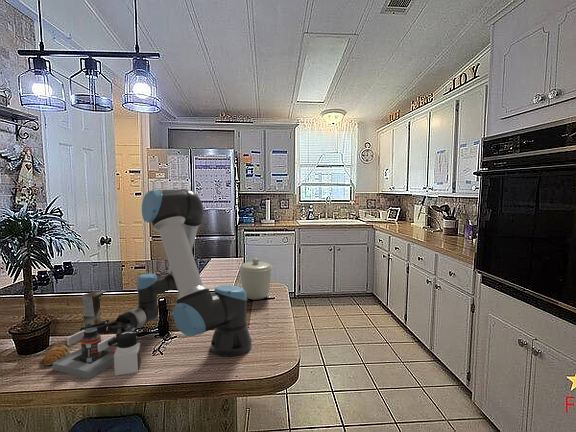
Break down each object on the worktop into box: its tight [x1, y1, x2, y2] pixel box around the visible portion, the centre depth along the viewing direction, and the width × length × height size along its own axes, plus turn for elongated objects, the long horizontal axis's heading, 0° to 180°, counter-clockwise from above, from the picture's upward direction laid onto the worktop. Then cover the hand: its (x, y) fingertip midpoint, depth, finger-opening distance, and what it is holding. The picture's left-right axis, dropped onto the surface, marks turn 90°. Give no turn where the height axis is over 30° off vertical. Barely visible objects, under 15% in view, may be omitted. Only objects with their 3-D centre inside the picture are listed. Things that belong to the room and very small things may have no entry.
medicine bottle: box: [113, 332, 142, 377], centre depth 116 cm, size 7×7×12 cm
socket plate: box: [52, 345, 117, 380], centre depth 120 cm, size 16×16×3 cm
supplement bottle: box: [80, 328, 102, 364], centre depth 120 cm, size 6×6×11 cm
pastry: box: [43, 344, 71, 367], centre depth 122 cm, size 9×7×4 cm
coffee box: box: [81, 290, 106, 326], centre depth 146 cm, size 9×6×16 cm
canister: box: [238, 257, 273, 300], centre depth 187 cm, size 18×18×21 cm
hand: (82, 344), depth 117 cm, fingers open, 13 cm apart
